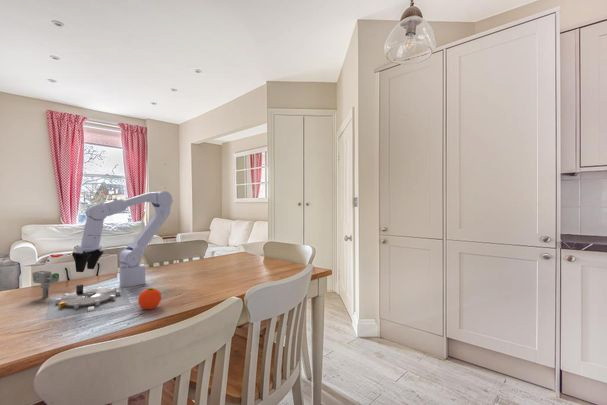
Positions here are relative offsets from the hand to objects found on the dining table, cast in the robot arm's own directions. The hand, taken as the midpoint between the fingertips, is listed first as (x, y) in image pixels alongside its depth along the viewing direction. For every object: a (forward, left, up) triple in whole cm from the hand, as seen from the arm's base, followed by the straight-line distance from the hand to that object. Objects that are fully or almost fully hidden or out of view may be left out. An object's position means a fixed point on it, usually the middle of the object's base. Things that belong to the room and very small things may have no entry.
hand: (85, 270), depth 108 cm
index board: (-1, +12, -10) cm, 15 cm away
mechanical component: (+11, -3, -10) cm, 15 cm away
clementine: (-17, +29, -10) cm, 35 cm away
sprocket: (-1, +10, -9) cm, 13 cm away
